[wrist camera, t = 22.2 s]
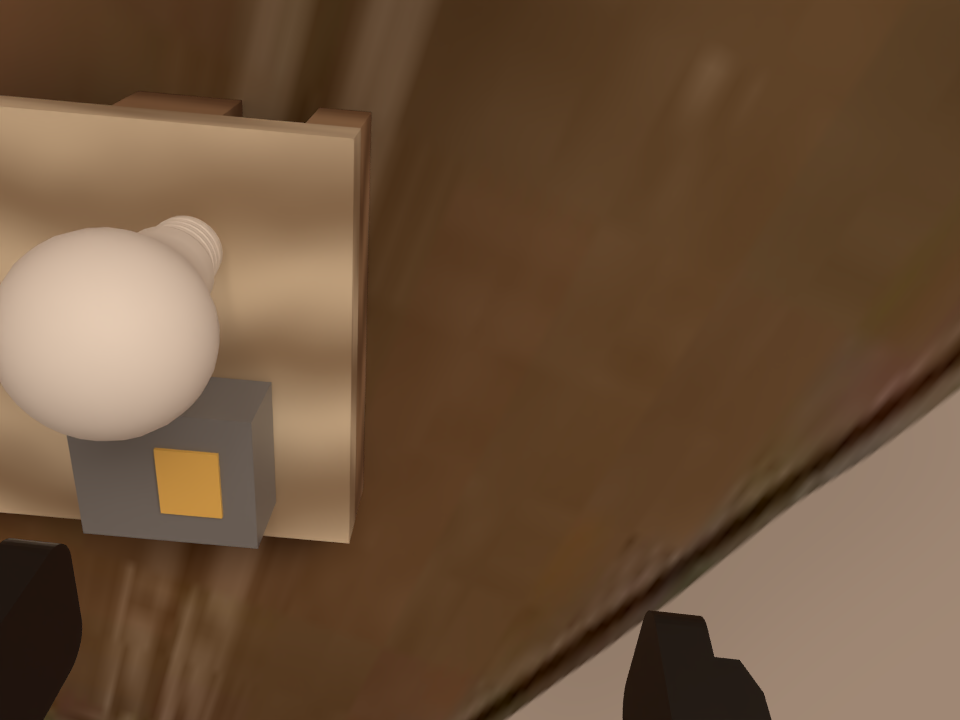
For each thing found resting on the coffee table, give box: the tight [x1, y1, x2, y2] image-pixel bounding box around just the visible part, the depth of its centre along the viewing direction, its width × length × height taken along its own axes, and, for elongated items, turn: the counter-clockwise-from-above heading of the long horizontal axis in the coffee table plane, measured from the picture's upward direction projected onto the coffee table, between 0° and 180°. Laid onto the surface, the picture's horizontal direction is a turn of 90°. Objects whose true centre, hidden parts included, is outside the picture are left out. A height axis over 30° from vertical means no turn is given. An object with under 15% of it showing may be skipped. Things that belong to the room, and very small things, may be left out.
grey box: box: [67, 377, 276, 549], centre depth 35 cm, size 6×7×3 cm
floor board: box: [0, 91, 371, 543], centre depth 36 cm, size 18×24×4 cm
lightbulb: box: [0, 216, 223, 441], centre depth 27 cm, size 6×6×11 cm
